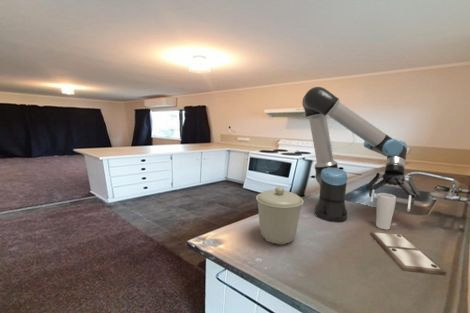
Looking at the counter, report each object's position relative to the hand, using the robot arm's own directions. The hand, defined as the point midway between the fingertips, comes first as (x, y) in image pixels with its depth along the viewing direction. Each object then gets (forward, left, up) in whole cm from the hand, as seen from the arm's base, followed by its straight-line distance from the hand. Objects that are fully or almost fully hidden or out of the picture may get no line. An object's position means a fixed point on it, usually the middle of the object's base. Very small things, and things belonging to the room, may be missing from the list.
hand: (389, 206), depth 97 cm
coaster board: (-5, -21, -10) cm, 23 cm away
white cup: (-2, -1, -10) cm, 10 cm away
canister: (-49, -19, -10) cm, 54 cm away
